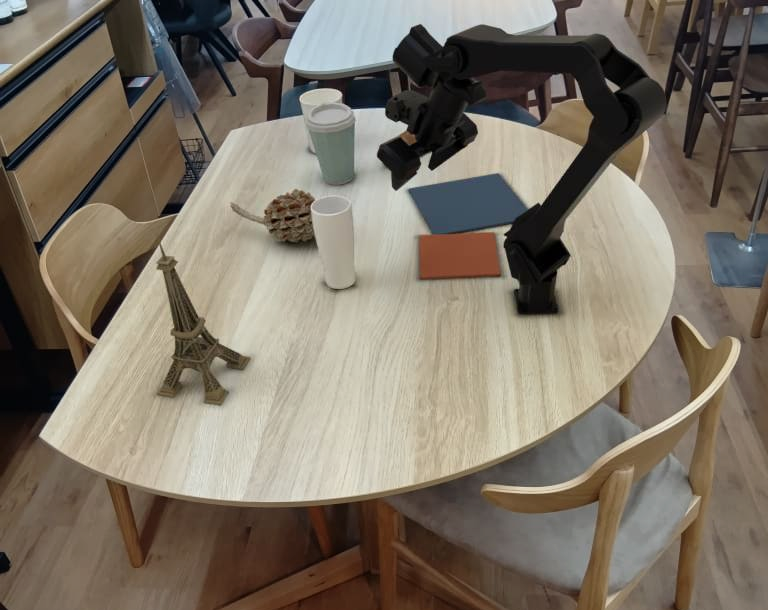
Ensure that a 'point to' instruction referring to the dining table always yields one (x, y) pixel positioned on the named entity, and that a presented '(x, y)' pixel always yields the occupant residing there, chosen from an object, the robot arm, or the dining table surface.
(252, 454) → the dining table surface
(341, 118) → the disposable coffee cup
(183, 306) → the eiffel tower
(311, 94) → the cream paper cup
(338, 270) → the tall white cup
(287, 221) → the pine cone
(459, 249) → the terracotta mat
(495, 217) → the mat
